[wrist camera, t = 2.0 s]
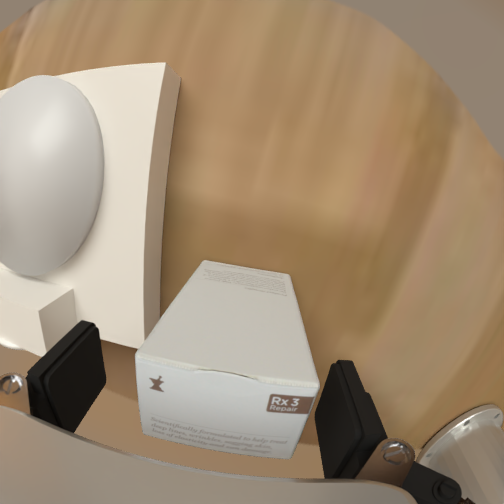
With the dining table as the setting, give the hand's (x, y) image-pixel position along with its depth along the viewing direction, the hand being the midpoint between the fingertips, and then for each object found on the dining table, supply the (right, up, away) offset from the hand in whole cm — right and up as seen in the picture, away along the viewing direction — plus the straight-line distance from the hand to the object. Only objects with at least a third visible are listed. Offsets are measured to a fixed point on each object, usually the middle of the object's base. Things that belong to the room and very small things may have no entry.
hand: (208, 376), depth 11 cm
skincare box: (+1, +2, +10) cm, 10 cm away
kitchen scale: (-14, +9, +9) cm, 19 cm away
